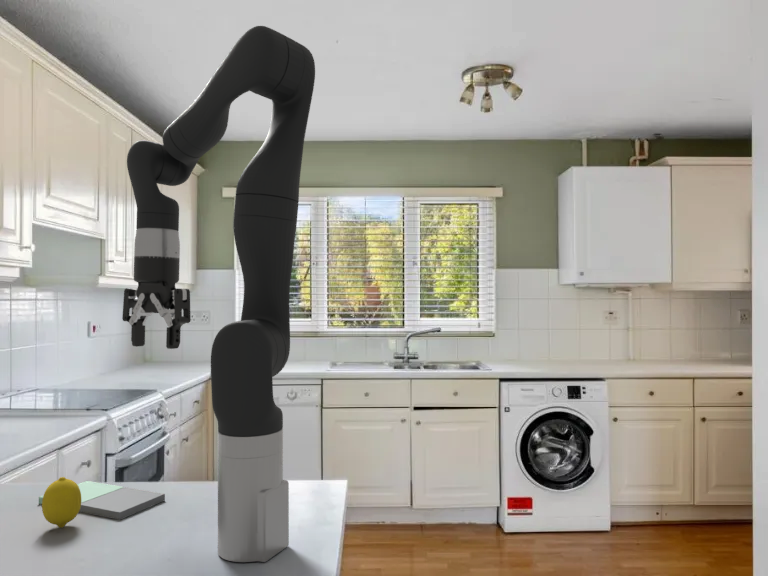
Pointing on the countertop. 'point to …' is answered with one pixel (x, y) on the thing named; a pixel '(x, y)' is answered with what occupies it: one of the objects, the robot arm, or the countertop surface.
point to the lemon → (61, 502)
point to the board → (114, 499)
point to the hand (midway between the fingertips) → (155, 347)
